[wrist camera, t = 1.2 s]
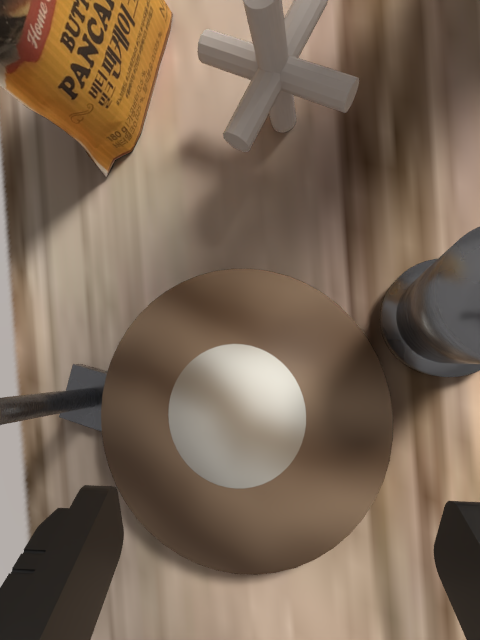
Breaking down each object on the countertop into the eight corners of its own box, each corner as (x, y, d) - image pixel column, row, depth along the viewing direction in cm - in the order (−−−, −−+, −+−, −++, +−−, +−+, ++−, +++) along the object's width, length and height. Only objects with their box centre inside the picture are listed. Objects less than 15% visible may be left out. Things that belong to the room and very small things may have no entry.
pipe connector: (380, 80, 27) (412, -82, 17) (313, 207, 27) (305, 119, 17) (256, 40, 29) (221, -121, 19) (195, 156, 29) (129, 54, 19)
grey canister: (392, 254, 25) (442, 175, 14) (514, 274, 23) (672, 202, 13) (368, 360, 25) (401, 359, 14) (490, 389, 23) (632, 413, 12)
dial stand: (82, 361, 29) (-165, 361, 15) (127, 374, 28) (-88, 388, 14) (67, 417, 29) (-199, 475, 14) (112, 433, 28) (-122, 511, 13)
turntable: (152, 253, 29) (140, 245, 27) (416, 306, 24) (424, 301, 22) (88, 502, 28) (70, 512, 26) (350, 604, 23) (353, 627, 21)
